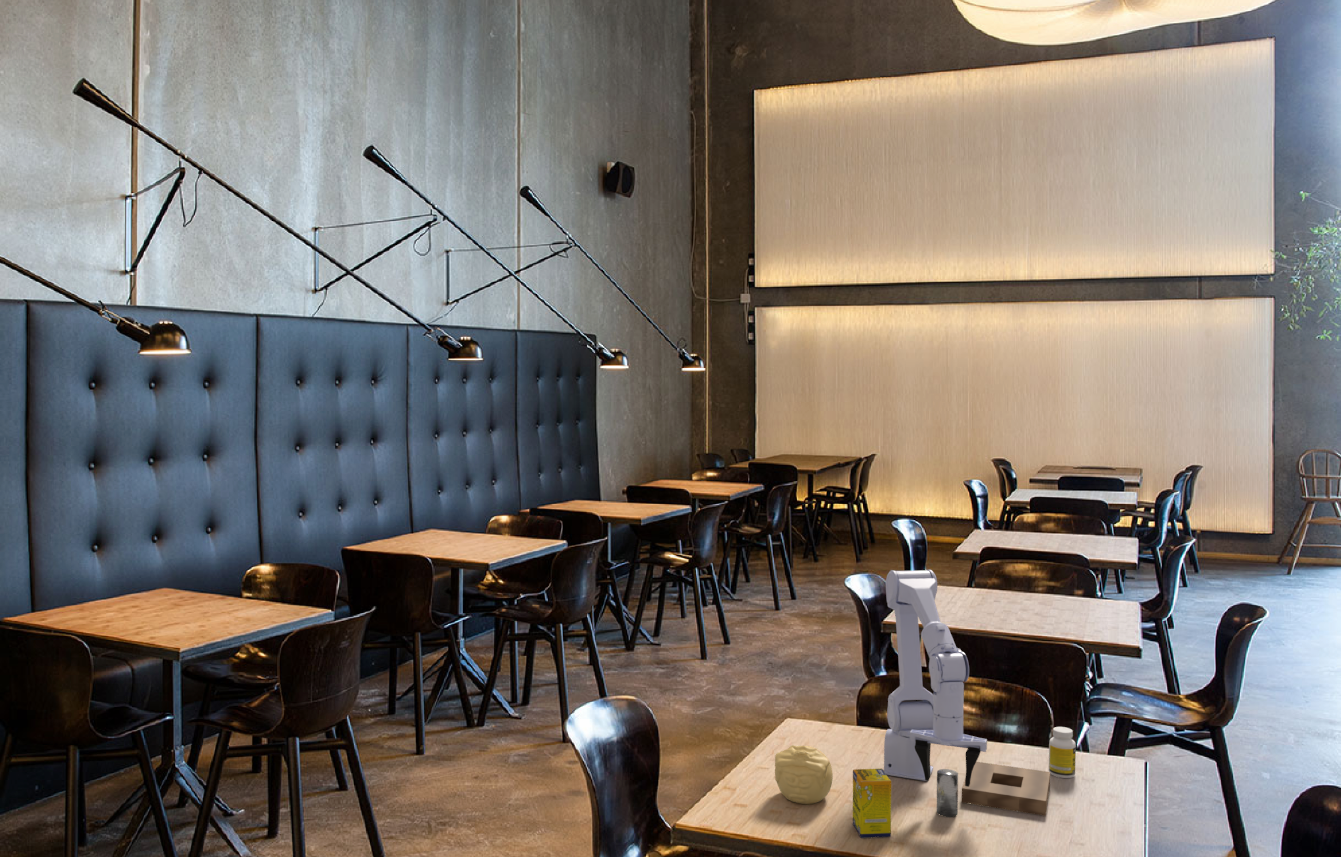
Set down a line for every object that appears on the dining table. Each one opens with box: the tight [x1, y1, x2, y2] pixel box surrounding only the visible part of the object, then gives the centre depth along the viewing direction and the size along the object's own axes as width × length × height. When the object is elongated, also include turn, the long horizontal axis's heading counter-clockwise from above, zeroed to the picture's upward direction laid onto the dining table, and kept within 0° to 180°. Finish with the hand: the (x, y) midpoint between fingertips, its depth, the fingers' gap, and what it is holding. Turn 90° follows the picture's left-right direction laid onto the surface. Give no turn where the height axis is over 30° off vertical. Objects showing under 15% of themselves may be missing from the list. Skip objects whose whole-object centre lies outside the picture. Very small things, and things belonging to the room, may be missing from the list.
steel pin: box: [936, 768, 959, 818], centre depth 201 cm, size 4×4×8 cm
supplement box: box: [852, 768, 892, 839], centre depth 192 cm, size 6×6×11 cm
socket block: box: [961, 761, 1051, 817], centre depth 210 cm, size 16×16×3 cm
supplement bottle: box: [1048, 726, 1077, 779], centre depth 220 cm, size 5×5×10 cm
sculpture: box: [774, 744, 834, 805], centre depth 208 cm, size 11×12×11 cm
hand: (947, 781), depth 200 cm, fingers open, 7 cm apart
